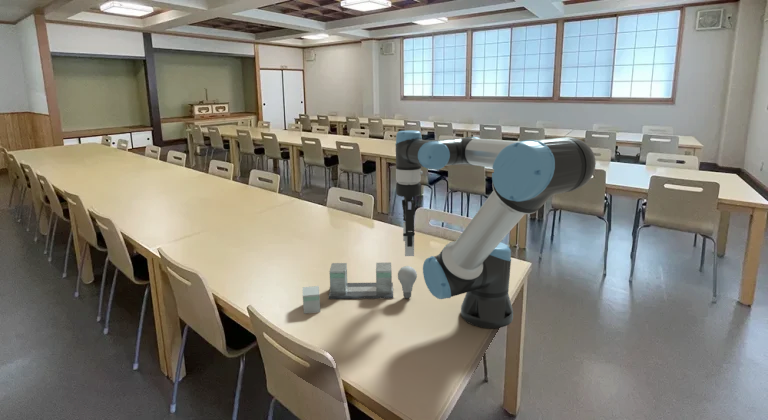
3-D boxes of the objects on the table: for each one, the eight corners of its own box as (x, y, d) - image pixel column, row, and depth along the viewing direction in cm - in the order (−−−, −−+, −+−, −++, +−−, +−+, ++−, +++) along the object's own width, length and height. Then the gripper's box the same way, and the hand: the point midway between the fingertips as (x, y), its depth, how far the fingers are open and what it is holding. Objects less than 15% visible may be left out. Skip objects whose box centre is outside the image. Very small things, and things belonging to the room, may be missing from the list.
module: (320, 312, 136) (319, 294, 134) (303, 314, 135) (302, 296, 133) (319, 303, 142) (318, 285, 140) (303, 304, 141) (302, 287, 139)
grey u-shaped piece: (393, 298, 144) (393, 272, 142) (328, 299, 144) (327, 273, 142) (392, 285, 154) (392, 260, 151) (331, 285, 154) (330, 261, 151)
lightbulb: (415, 293, 147) (415, 262, 144) (417, 302, 141) (417, 270, 138) (397, 294, 147) (397, 263, 144) (398, 302, 141) (398, 270, 138)
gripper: (424, 191, 123) (423, 262, 129) (418, 174, 147) (417, 235, 153) (397, 191, 123) (397, 262, 129) (395, 174, 147) (395, 235, 153)
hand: (408, 248), depth 141 cm, fingers open, 13 cm apart
